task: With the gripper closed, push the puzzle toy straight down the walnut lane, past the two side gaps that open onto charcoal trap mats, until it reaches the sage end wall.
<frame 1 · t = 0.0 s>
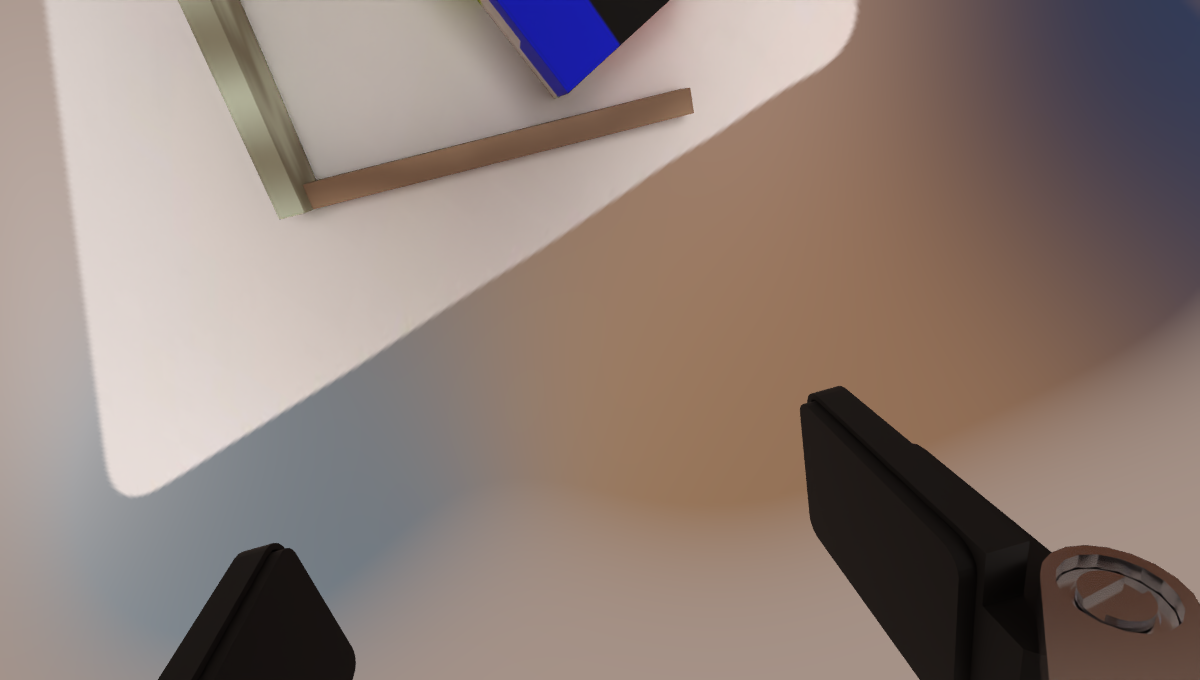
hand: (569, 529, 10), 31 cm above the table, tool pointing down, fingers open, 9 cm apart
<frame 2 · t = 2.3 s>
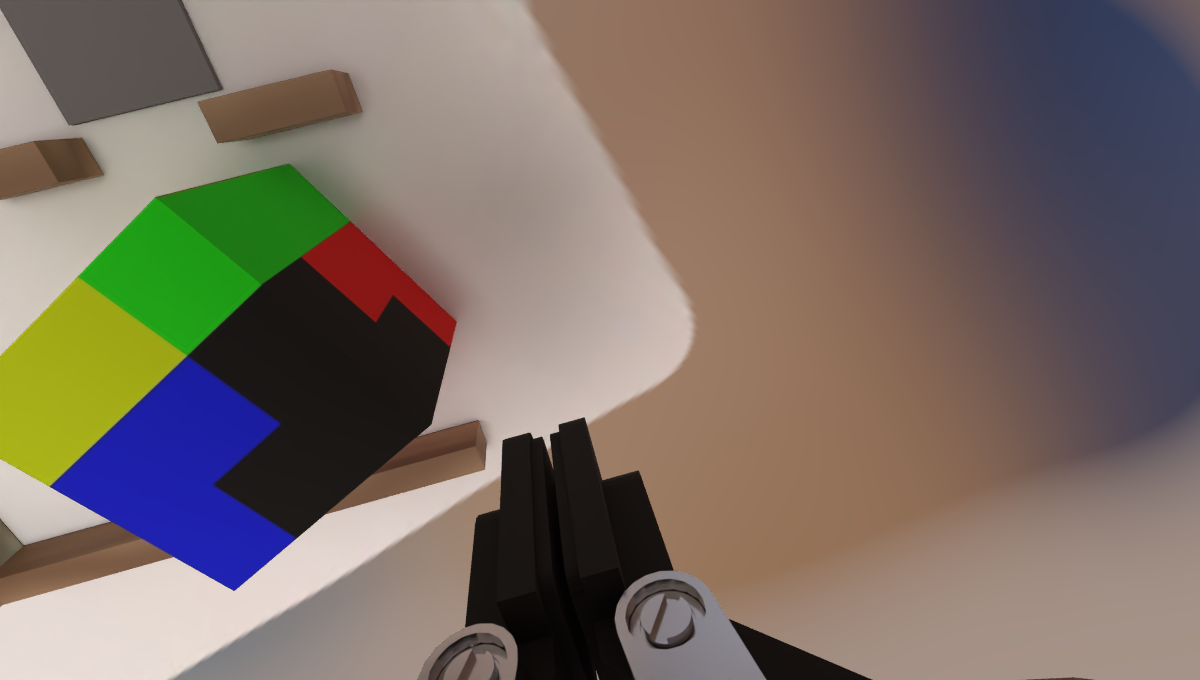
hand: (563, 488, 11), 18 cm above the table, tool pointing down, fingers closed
puzzle toy: (307, 314, 27), on the table
trap box: (159, 355, 26), on the table
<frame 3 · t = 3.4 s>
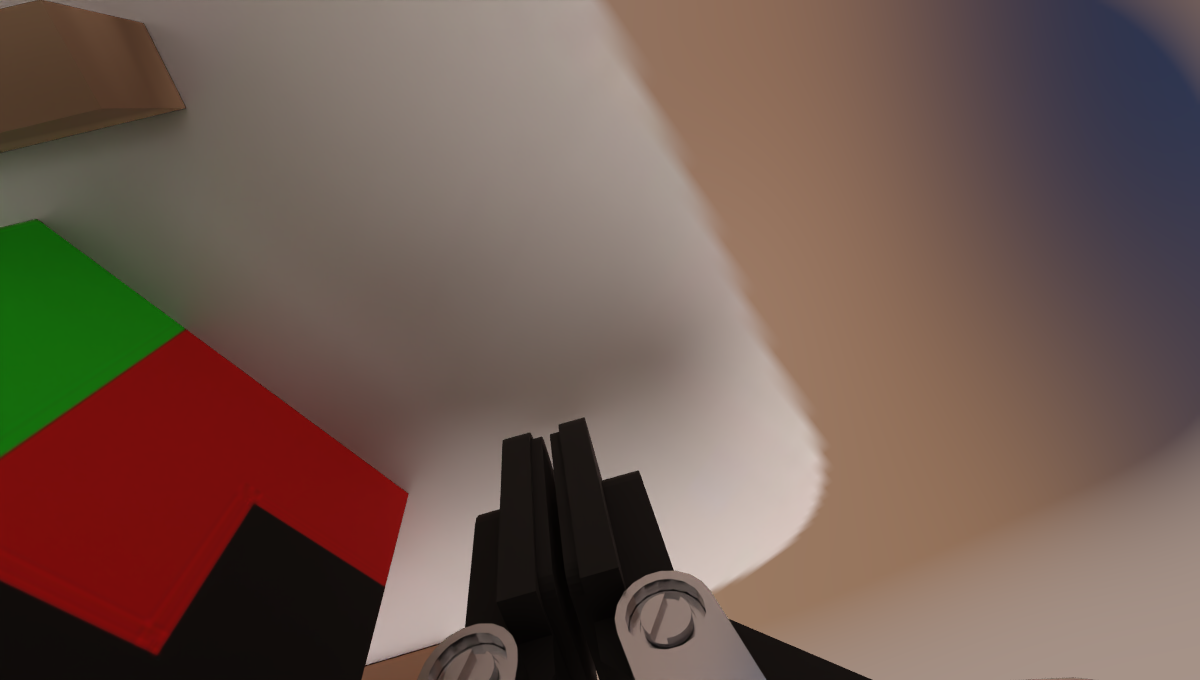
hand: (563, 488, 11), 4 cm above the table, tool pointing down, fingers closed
puzzle toy: (123, 492, 14), on the table
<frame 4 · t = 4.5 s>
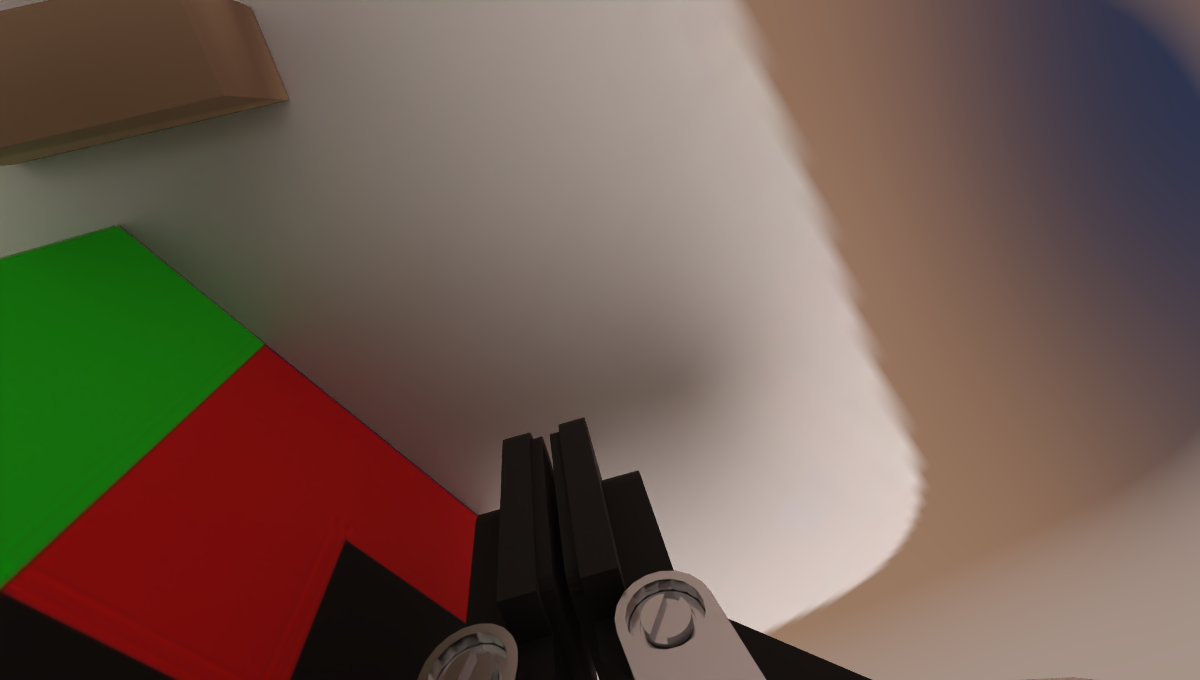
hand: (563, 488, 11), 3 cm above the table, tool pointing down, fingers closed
puzzle toy: (184, 517, 13), on the table, touching gripper
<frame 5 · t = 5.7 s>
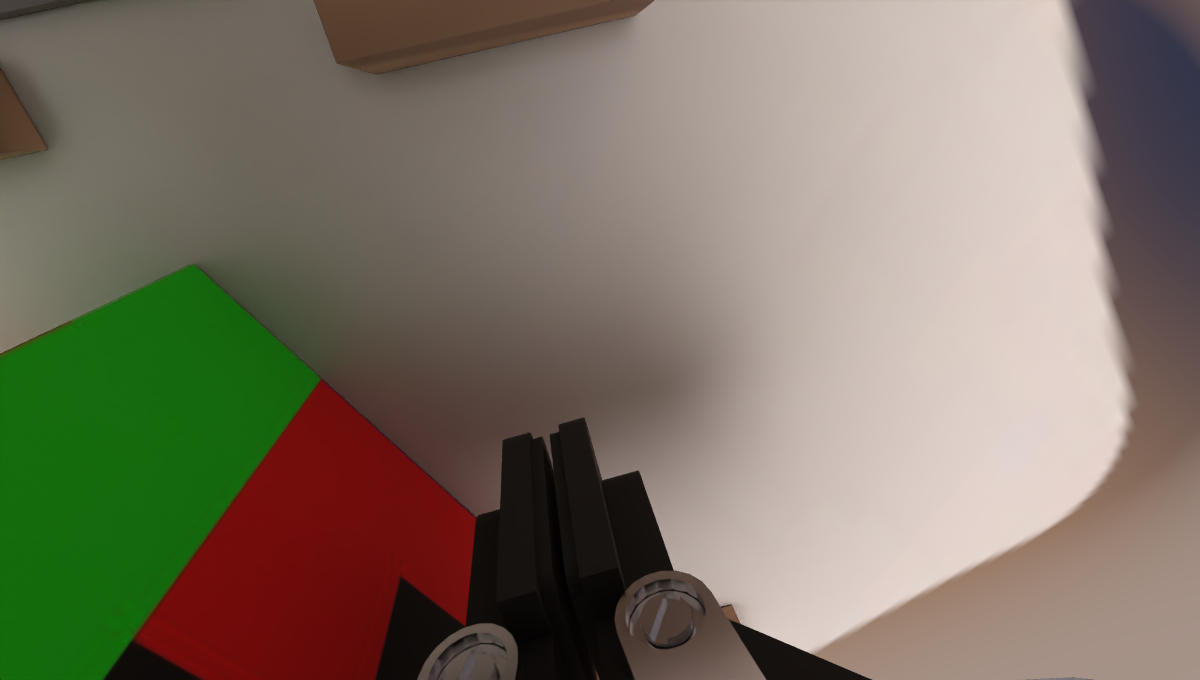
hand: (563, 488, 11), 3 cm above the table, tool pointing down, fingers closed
puzzle toy: (225, 537, 14), on the table, touching gripper
trap box: (168, 517, 13), on the table
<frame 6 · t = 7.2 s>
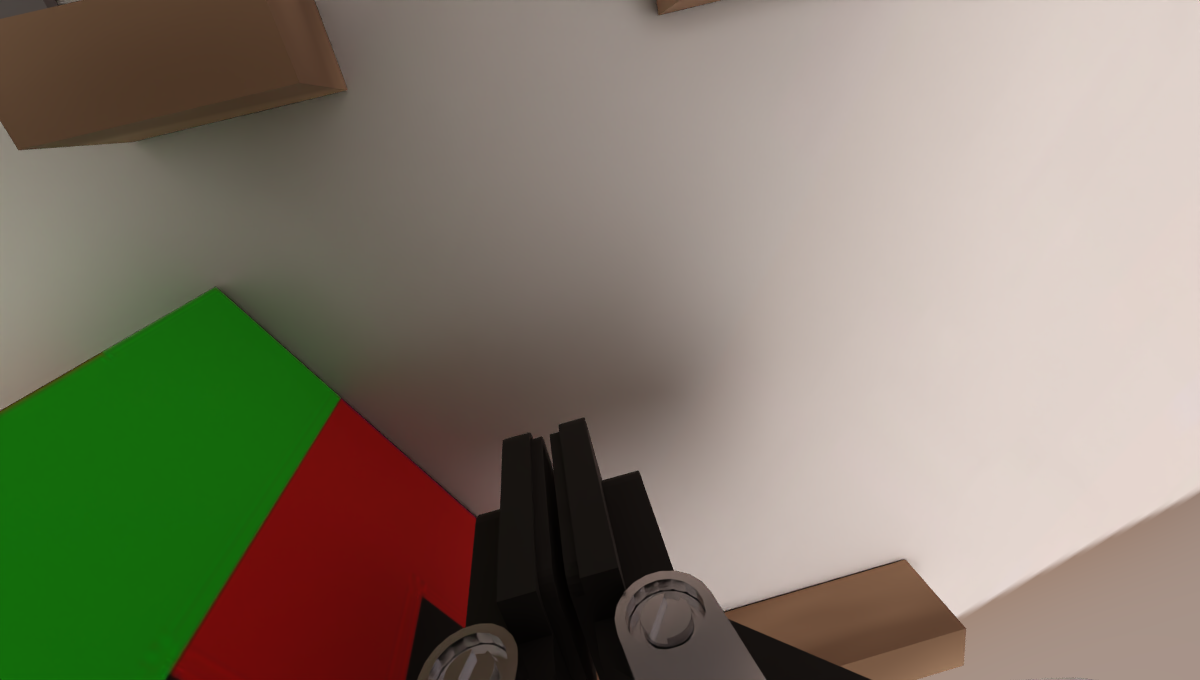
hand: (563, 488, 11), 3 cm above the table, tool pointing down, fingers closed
puzzle toy: (246, 553, 14), on the table, touching gripper, trap box
trap box: (399, 464, 13), on the table
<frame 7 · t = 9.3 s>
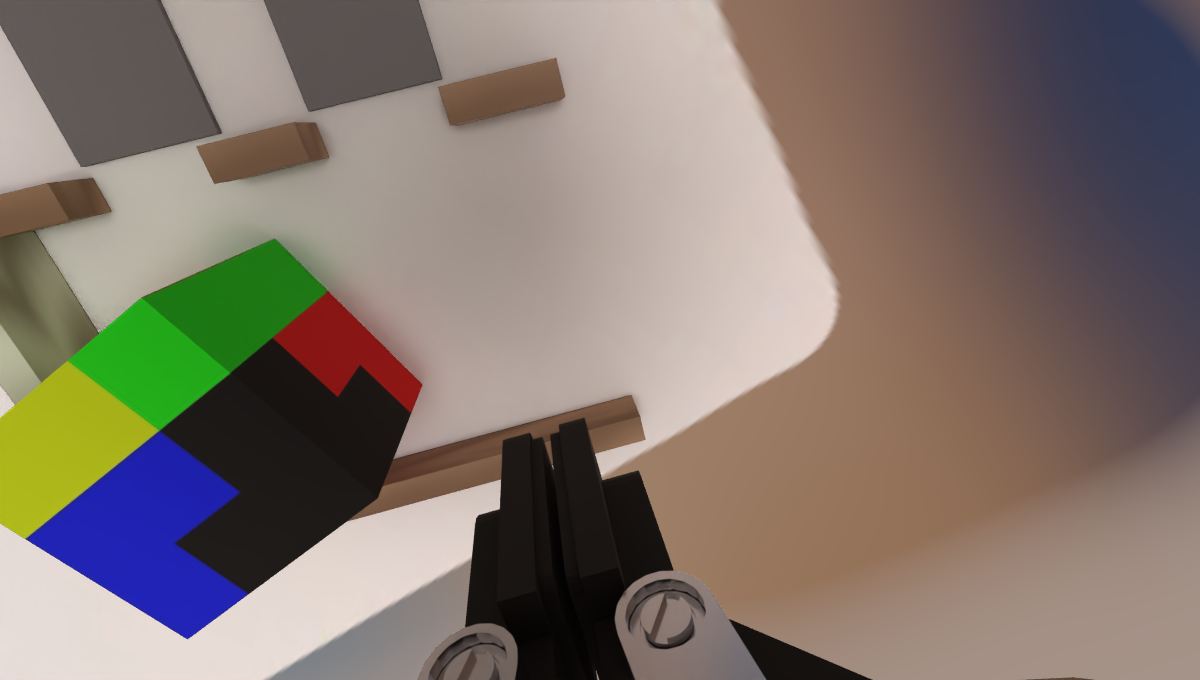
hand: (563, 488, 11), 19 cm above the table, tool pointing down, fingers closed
puzzle toy: (283, 371, 29), on the table
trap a: (102, 50, 23), on the table
trap box: (354, 326, 28), on the table
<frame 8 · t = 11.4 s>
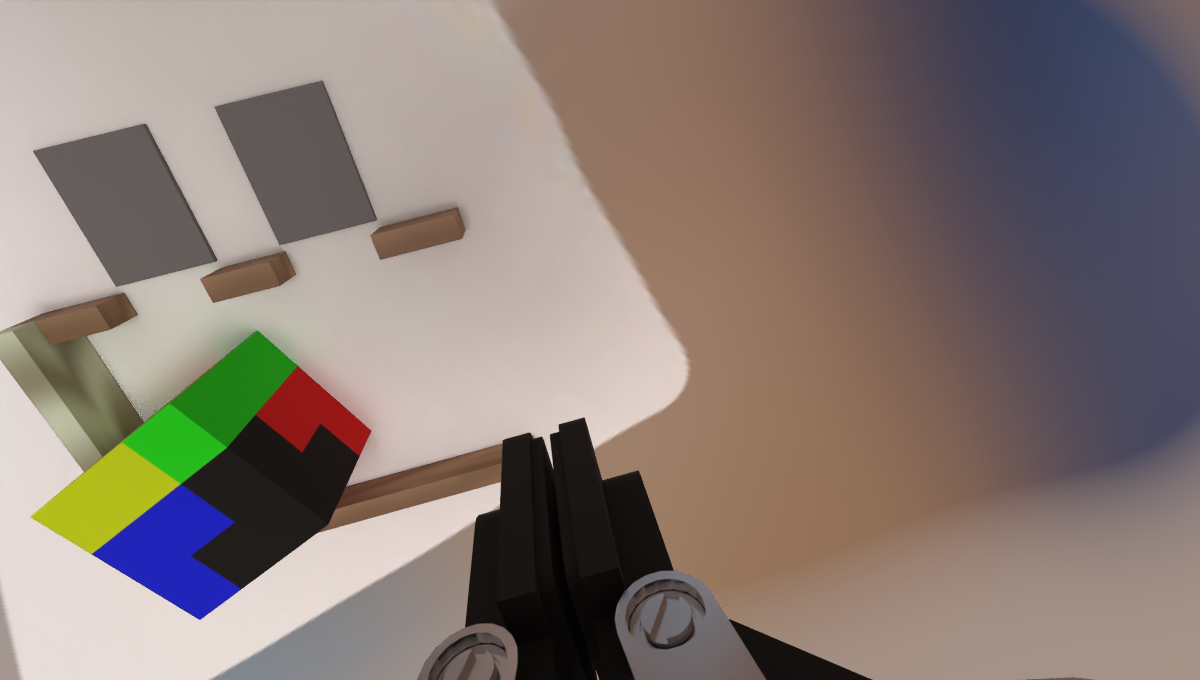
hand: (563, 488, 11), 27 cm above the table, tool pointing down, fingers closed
puzzle toy: (265, 422, 39), on the table
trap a: (132, 208, 32), on the table
trap box: (318, 390, 38), on the table
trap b: (301, 166, 33), on the table
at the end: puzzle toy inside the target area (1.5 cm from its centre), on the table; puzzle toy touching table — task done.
